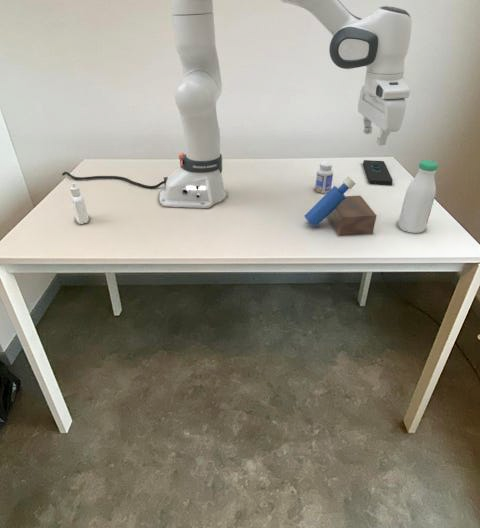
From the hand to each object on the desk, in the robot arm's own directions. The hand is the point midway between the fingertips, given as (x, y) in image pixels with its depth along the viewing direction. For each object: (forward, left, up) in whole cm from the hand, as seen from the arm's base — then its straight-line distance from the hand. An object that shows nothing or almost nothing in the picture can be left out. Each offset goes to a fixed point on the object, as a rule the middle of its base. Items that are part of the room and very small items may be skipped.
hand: (373, 138), depth 109 cm
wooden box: (-3, -1, -25) cm, 25 cm away
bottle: (-10, -1, -25) cm, 27 cm away
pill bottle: (-5, +23, -25) cm, 34 cm away
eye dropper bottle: (-84, +10, -25) cm, 88 cm away
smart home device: (+20, +35, -25) cm, 47 cm away
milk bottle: (+14, -5, -25) cm, 30 cm away
